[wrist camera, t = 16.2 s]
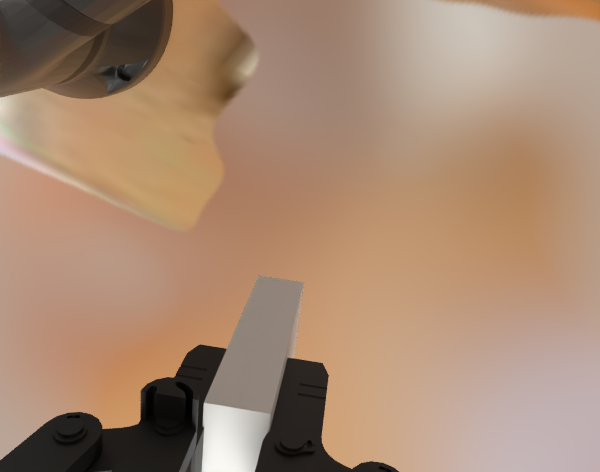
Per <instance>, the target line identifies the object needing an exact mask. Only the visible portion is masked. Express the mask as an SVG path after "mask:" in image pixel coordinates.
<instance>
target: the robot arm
mask: <svg viewBox="0 0 600 472" xmlns="http://www.w3.org/2000/svg"><path fill="white" fill-rule="evenodd" d="M171 26H172V0H0V97H4V96H9V95H13V94H18V93H22V92H27V91H31V90H36V89H40V88H44V89H46V90H49V91H51V92H54V93H57V94H60V95H63V96H67V97H72V98H80V99H95V98H102V97H107V96H110V95H113V94H117V93H120V92H123V91H126V90H128V89H130V88H132V87H133V86H135V85H137V84H138V83H140V82H141V81H142V80H143V79H145V78H146V77H147V76H148V75H149V74H150V73H151V72H152V70H153V69H154V68H155V67H156V65H157V64H158V62H159V60H160V59H161V57H162V55H163V53H164V51H165V48H166V46H167V43H168V40H169V36H170V32H171ZM303 285H304V283H303V282H298V281H290V280H284V279H278V278H271V277H265V276H258V278H257V280H256V283H255V285H254V287H253V290H252V292H251V294H250V297H249V299H248V301H247V304H246V306H245V308H244V311H243V313H242V315H241V318H240V320H239V322H238V324H237V327H236V329H235V331H234V334H233V336H232V339H231V341H230V343H229V345H228V348H227V349H224V348H218V347H212V346H206V345H198V346H197V347H195V348H194V349H193V350H191V351H190V352H188V353H187V355H186V356H185V358H184V360H183V362H182V364H181V367H179V369H178V371H177V373H176V376H175V377H174V378H169V377H167V378H162V379H157V380H155V381H152V382H150V383H148V384H147V385H146V386H145V387H144V388H143V389H142V390H141V420H140V422H139V424H137V425H134V426H130V427H124V428H113V429H102V425H101V423H100V421H99V419H98V418H96V417H94V416H93V415H91V414H87V413H82V412H75V413H66V414H63V415H60V416H57V417H55V418H53V419H52V420H50V421H48V422H47V423H45V424H44V425H43V426H42V427H40V428H39V429H38V430H37V431H36V432H34V433H33V434H32V435H31V436H29V437H28V438H27V439H26V440H25V441H24V442H22V443H21V444H20V445H19V446H18V447H16V448H15V449H14V450H12V451H11V452H10V453H9V454H8V455H6V456H5V457H4V458H3V459H1V460H0V472H399V471H397V470H396V469H395V468H393V467H391V466H389V465H386V464H384V463H379V462H372V461H371V462H366V463H361V464H359V465H357V466H356V467H354V468H353V469H351V468H348V467H346V466H344V465H342V464H340V463H339V462H337V461H335V460H334V459H333V458H331V457H330V456H329V455H328V453H327V452H326V451H325V449H324V447H323V444H322V438H321V436H322V427H323V418H324V410H325V401H326V393H327V383H328V376H329V375H328V374H327V371H326V369H325V367H324V365H323V363H318V362H312V361H305V360H299V359H294V354H295V347H296V339H297V332H298V323H299V316H300V308H301V300H302V293H303Z"/></svg>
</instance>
